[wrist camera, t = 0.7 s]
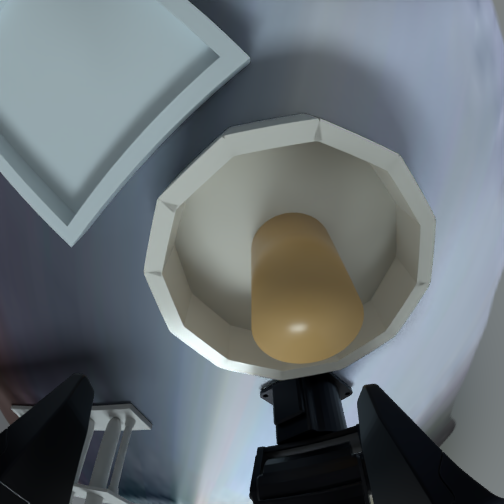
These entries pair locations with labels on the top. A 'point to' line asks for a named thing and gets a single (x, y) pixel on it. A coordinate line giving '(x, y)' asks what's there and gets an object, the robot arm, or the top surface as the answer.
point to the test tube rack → (105, 450)
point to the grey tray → (98, 95)
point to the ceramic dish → (273, 204)
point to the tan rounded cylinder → (301, 292)
